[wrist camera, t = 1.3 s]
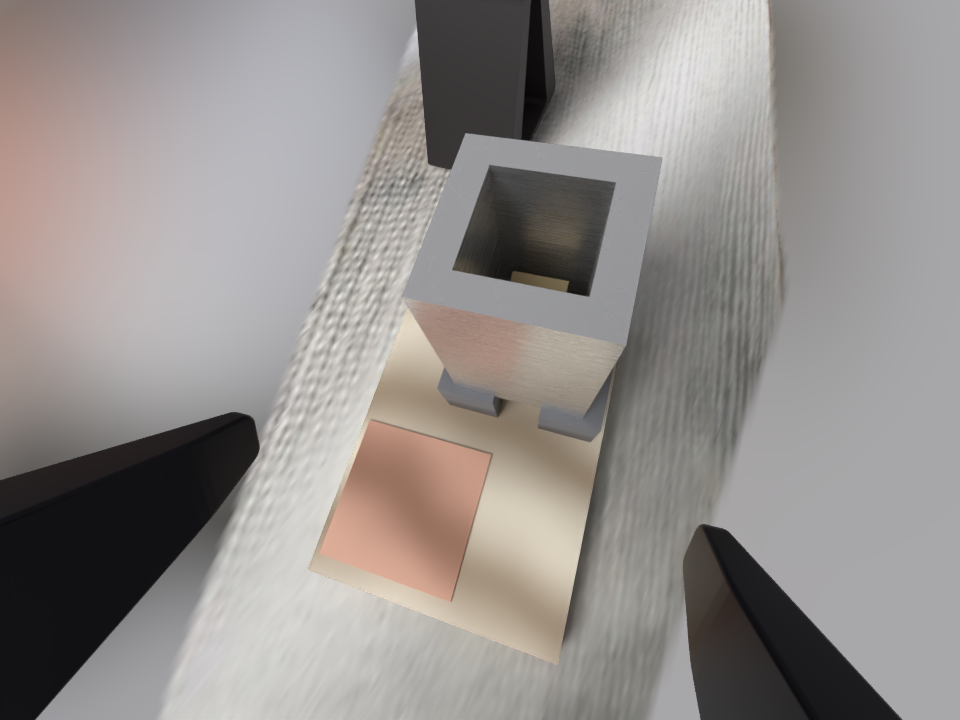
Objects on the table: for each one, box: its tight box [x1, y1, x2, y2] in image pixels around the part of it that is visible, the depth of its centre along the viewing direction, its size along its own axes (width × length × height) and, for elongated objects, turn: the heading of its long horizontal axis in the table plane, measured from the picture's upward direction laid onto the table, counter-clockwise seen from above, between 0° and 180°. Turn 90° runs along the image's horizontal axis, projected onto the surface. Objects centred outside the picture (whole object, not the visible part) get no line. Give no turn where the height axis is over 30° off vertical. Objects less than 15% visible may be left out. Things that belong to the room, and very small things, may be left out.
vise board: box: [308, 271, 618, 665], centre depth 17 cm, size 16×12×8 cm
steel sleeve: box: [402, 133, 662, 419], centre depth 14 cm, size 5×5×8 cm
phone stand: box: [415, 0, 555, 169], centre depth 23 cm, size 9×6×12 cm, turn 157°
